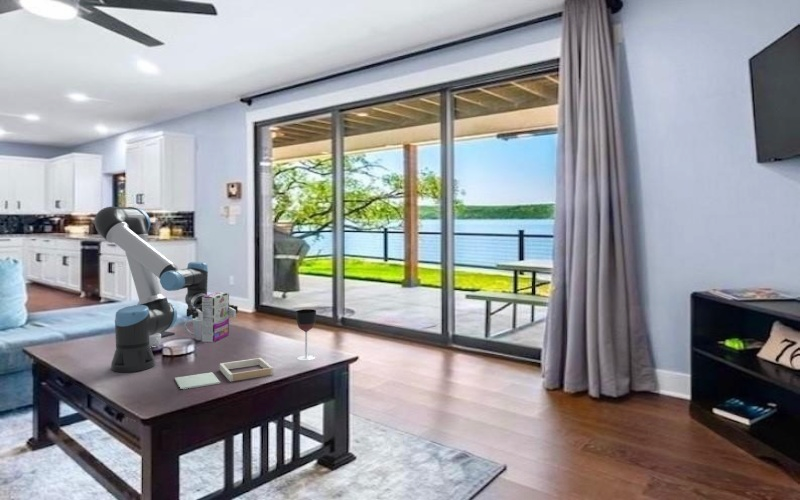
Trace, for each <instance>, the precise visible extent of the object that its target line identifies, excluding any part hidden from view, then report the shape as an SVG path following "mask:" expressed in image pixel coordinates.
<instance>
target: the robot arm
mask: <svg viewBox="0 0 800 500" xmlns="http://www.w3.org/2000/svg"><path fill="white" fill-rule="evenodd" d="M93 222H94V227H95V230H96V231H97V232H98V234H99V235H100V237H102V238H103V239H104V240H106V241H107V242H108V243H111V244H112V243H113V244H116V246H117V247H119V248H120V249H122V250H123V251H124V252H125V253H124V254H125V256H126V259H127V262H128V263H127V264H128V266H129V269H130V273H131V277H132V279H133V284H134V287H135V290H136V294H137V296H138V302H137V304H136V305H131V306H130V305H129V306H125V307H122V308H120V309H118V310H117V311H116V313H115V316H114V317H115V318H114V319H115V320H114V326H115V328H114V329H115V331H114V332H115V333H114V334H115V352H114V354H113V357H112V361H111V364H110V367H111V368H110V369H111V371H113V372H115V373H116V372H117V373H134V372H140V371H144V370H148V369H150V368H152V367H154V366H155V364H156V361H155V360H156V358H155V356H154V354H153V351H152V348H150V343H149V336H150V335H153V334H156V333H160V332H164V331H166V332H167V331H168V330H170V329H172V328H173V327H174V326H175V324H176V322H177V319H178V311H177V308H176V306H175V305H173V304H172V303H170V302H168V299H167V298H168V297H167V296H165V295H164V294H162V292H161V288H160V285H161V287H162V289H164V290H166V291H169V292H170V291H171V292H172V291H179V290H183V289H186V291H187V292H186V295H185V297H184V300H185V303H186V305H187V308H186V317H188V318H189V317H191V318H192V319H195V318H196V317H197V318H198V319H199V320H203V312H202V297H203V296H207V295H208V281H209V280H208V273H209V270H208V264H207V263H206V262H205V261H190V262H189V263H188V264H187V268H180V267H178V265H176V264H174V263H173V262H172V261H170V260H169V259H168V258H166V256H164V255H163V254H162V253H160V252H159V251H158V250H156V249H155V247H153V246H152V245H150V244H149V243H148V242H147V239H148V237H149V233H148V232H149V230H150V227H151V219H150V216H149V214H148V213H147V212H146V211H145V210H143V209H141V208H138V207H134V206H106V207H104V208H102V209H100V210H99V211H98V212H97V213H96V215H95V218H94V221H93ZM158 279H159V281H158ZM159 283H160V285H159ZM238 312H239V310H238V305H234V304H229V317H231V318H234V319H236V318H237V314H238Z"/></svg>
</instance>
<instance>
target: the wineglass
mask: <svg viewBox="0 0 800 500" xmlns="http://www.w3.org/2000/svg"><path fill="white" fill-rule="evenodd" d="M295 315H296V323H297V326H298V328H299V329H300V330H301V331H302V332H304V334H305V335H304V336H305V337H304V339H305V341H304V342H305V347H304V350H305V354H304V355H301V356H298V357H297V358H296V359H297V360H299V361H312V360H314V359H316V356H314V355H308V332H309V331H310V330H312V329H313V328H314V327H315V325H316V319H317V310H316V309H311V308H310V309H309V308H308V309H307V308H306V309H304V308H303V309H298V310H296V312H295ZM313 356H314V357H313Z"/></svg>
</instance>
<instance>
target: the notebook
mask: <svg viewBox="0 0 800 500" xmlns="http://www.w3.org/2000/svg"><path fill="white" fill-rule="evenodd" d="M160 334H161V339H163V338H168V337H171V336H174V335H176V334H175V332H174V331H173V332H172V331H167V330H166V331H164V332H160Z"/></svg>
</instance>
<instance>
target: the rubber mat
mask: <svg viewBox="0 0 800 500" xmlns="http://www.w3.org/2000/svg"><path fill="white" fill-rule="evenodd" d="M174 380H175V382H176V384H177V386H178V387H180V388H179V389H183V390H189V389H195V388H201V387H207V386H213V385H219V384H221V380H219V379H218V377H217V376H216V374H214V373H213V372H212V371H211V372H205V373H197V374H191V375H184V376H177V377H174ZM188 388H189V389H188Z"/></svg>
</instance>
